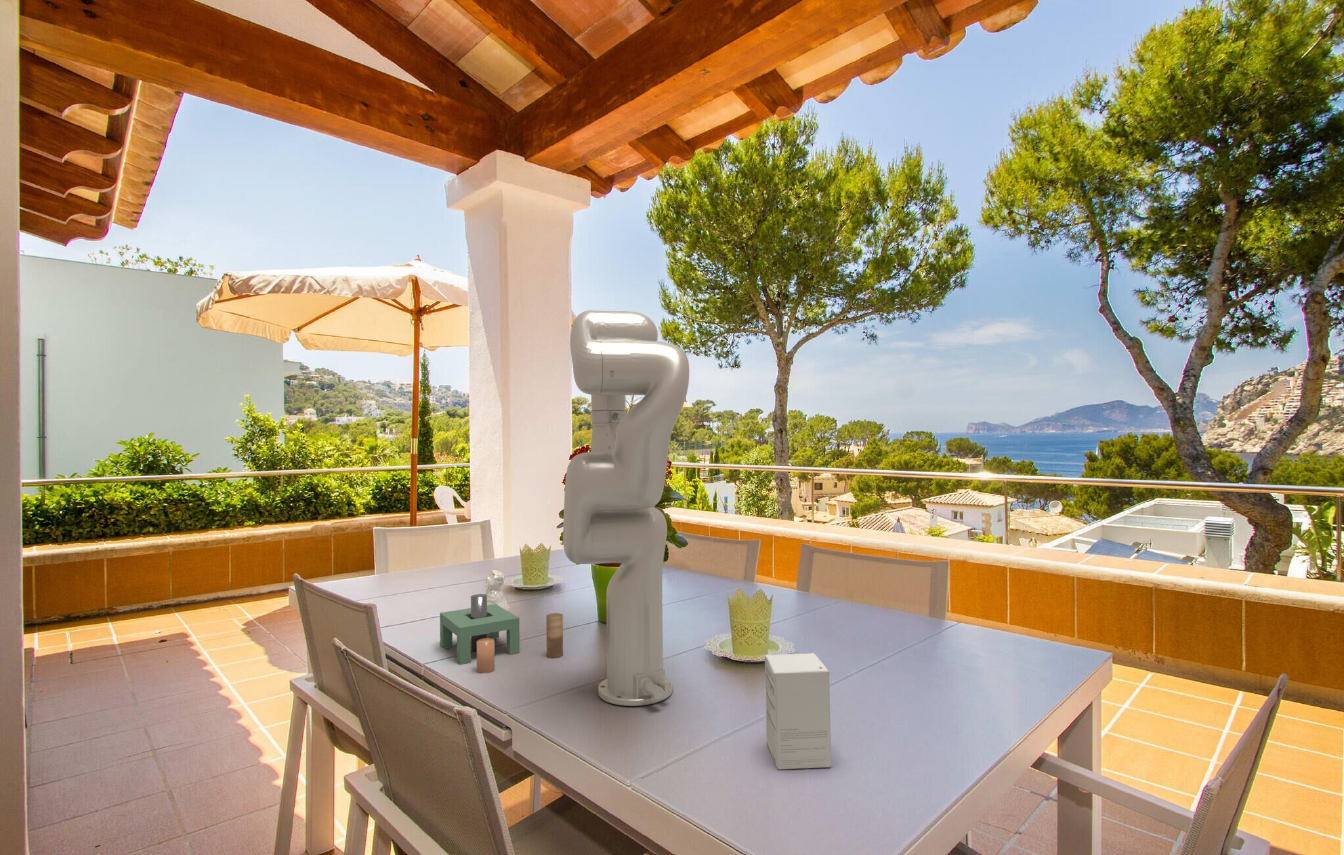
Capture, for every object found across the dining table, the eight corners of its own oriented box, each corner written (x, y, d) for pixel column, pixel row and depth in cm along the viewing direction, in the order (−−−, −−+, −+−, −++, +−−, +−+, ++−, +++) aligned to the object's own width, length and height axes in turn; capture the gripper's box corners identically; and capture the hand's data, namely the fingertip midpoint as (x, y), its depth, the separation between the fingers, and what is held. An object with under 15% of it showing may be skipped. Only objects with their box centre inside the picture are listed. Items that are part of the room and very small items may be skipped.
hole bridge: (519, 652, 133) (519, 617, 133) (460, 664, 126) (459, 627, 126) (495, 636, 144) (495, 604, 145) (440, 646, 138) (439, 612, 138)
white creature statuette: (470, 617, 160) (469, 568, 161) (505, 612, 164) (505, 564, 165) (477, 626, 152) (477, 574, 152) (514, 621, 156) (514, 571, 156)
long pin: (489, 649, 135) (489, 596, 135) (473, 652, 133) (473, 598, 133) (484, 646, 137) (483, 593, 138) (469, 648, 136) (468, 595, 136)
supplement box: (817, 742, 92) (816, 651, 92) (832, 769, 85) (830, 670, 85) (765, 744, 92) (763, 653, 92) (775, 770, 84) (773, 671, 85)
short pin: (497, 670, 122) (496, 641, 123) (480, 674, 121) (479, 644, 121) (491, 666, 125) (491, 637, 125) (474, 669, 123) (474, 640, 123)
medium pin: (565, 656, 130) (565, 615, 131) (550, 659, 129) (550, 618, 129) (558, 651, 133) (558, 612, 133) (544, 654, 131) (543, 614, 131)
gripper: (644, 418, 139) (645, 499, 138) (604, 420, 153) (605, 494, 152) (613, 417, 134) (613, 501, 134) (575, 420, 149) (576, 496, 148)
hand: (609, 497), depth 143 cm, fingers open, 9 cm apart
